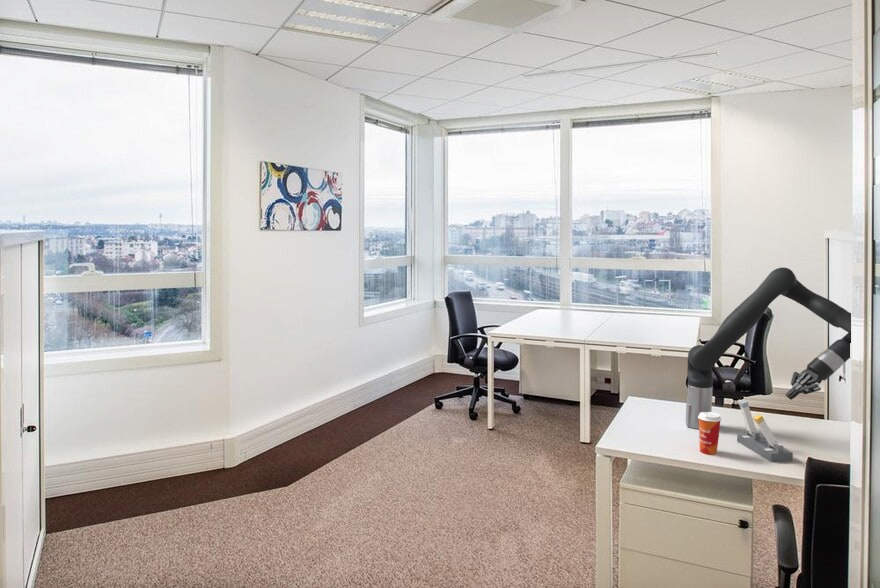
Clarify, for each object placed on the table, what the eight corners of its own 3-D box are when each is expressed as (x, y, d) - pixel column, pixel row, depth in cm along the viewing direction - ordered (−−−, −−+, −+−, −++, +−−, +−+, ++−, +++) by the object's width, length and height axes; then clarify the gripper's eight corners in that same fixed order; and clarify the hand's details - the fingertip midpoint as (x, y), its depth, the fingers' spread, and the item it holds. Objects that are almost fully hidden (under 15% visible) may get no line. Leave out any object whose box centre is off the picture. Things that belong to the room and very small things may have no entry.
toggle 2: (776, 451, 205) (757, 420, 203) (770, 448, 208) (751, 417, 206) (782, 448, 205) (763, 416, 203) (775, 444, 208) (757, 413, 206)
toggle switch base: (770, 462, 203) (771, 447, 202) (736, 441, 223) (737, 428, 222) (792, 461, 203) (793, 446, 203) (756, 440, 223) (757, 427, 223)
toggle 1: (753, 438, 217) (742, 404, 216) (747, 434, 221) (737, 401, 219) (759, 435, 218) (748, 402, 216) (753, 432, 221) (743, 399, 219)
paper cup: (692, 448, 216) (694, 411, 214) (712, 447, 217) (714, 410, 215) (703, 456, 208) (705, 418, 207) (724, 455, 209) (726, 417, 207)
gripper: (844, 378, 204) (805, 411, 207) (819, 364, 217) (782, 396, 219) (832, 364, 202) (793, 398, 205) (807, 351, 215) (770, 383, 218)
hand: (788, 397), depth 212 cm, fingers closed
